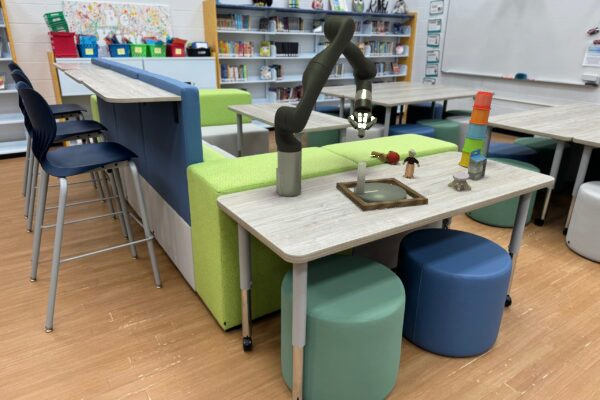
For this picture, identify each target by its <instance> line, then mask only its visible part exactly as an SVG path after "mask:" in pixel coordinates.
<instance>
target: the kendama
mask: <svg viewBox="0 0 600 400" xmlns="http://www.w3.org/2000/svg"><path fill="white" fill-rule="evenodd" d="M387 152H388V153H385V152H378V151H374V150H372V151H371V153H370V155H375V156H379V157H378V159H379V161H380V162H381V163H382V164H383V163H387V162H388V163H389V164H391V165H396V164H398V163H399V162H400V159H401V158H400V157H401V156H400V154H399V153H398V152H396V151H394V150H389V151H387Z"/></svg>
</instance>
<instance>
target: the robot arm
mask: <svg viewBox="0 0 600 400" xmlns="http://www.w3.org/2000/svg"><path fill="white" fill-rule="evenodd" d="M322 29H323V35H324V37H325V39H326V40H327V41H328V42H330V43H329V44H328V46H327V47H325V48H323V49H322V50H321V51H319V52H318V53H317V54H315V55H314V56H313V57H312V58H311V59H310V61H309V62H308V64H307V65H306V67H305V69H304V71H303V73H302V77H301V86H302V94H301V97H300V100H299V102H298V103H297V105H296V106H289V105H288V106H287V105H282V106H279V107H278V108H277V109H276V111H275V113H274V119H273V120H274V123H273V124H274V141H275V144H276V148H277V167H276V168H275V170H276V171H275V180H276V181H275V185H276V188H275V189H276V193H277V194H278V195H279V196H280V197H282V196H283V197H295V196H296V197H297V196H299V195H301V194H302V171H303V170H302V169H303V167H302V164H303V162H302V160H303V159H302V157H303V156H302V155H303V154H302V153H303V148H302V147H303V145H302V141H300V140H299V139H298V138H296V136H295V135H294V134H300V133H301V132H302V131H303V130H304V129H305V128H306V126H307V125H308V122H309V120H310V117H311V116H312V115H311V114H312V112H313V109H314V108H315V104H316V103H317V100H319V99H318V98H319V96H320V94H321V92H322V90H323V88H324V87H325V85H326V84H327V82H328V80H329V78H330V76H331V74H332V72H333V70H334V69H335V66H336V65H337V62H338V61H339V59H340V57H341V55H343V56H344V58H345V59H346V61H347V62H348V64H349V65H350V66H351V68H352V69H353V71H352V74H353V78H354V83H355V96H354V103H353V107H354V108H353V113H352V115H351V116H350V115H348V116H347V122H348V123H349V124H350V126H351V127H352V128H353V129H354V130H357V137H358V138H359V139H363V138H365V136H366V131H369V130H370V129H372V127H373V126H375V124H376V123H377V122H378V121H377V120H378V118H377V117H374V115H373V113H372V107H373V84H372V82H371V81H370V80H373V79H375V78H376V77H377V75H378V69H377V66H376V65H375V62H373V61H372V60H370V59H368V57H366V55H365V54H364V52H363V51H362V50H361V48H360V47H359V46H357V44H355V43H353V42H352V39H353V37H354V34H355V31H356V22H355V20H354V19H353V18H352V17H350V16H340V15H333V16H332V15H331V16H328V17H327V18H326V19H325V20H324V23H323V27H322ZM367 123H368V124H367Z"/></svg>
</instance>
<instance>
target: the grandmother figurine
mask: <svg viewBox="0 0 600 400" xmlns="http://www.w3.org/2000/svg"><path fill="white" fill-rule="evenodd" d="M416 155H417V152H416V150H415V149H414V148H412V149H409V150H408V156H406V157H405V158H404V160H403V161H402V163H401V164H402V165H403V166H404V165H405V164H406V165H405V171H404V175H402V177H403V178H408V179H414V173H415V165H417V168H420V166H421V165H420V161H419V160H418V159H417V158H416V157H415V156H416Z"/></svg>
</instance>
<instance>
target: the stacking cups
mask: <svg viewBox="0 0 600 400" xmlns="http://www.w3.org/2000/svg"><path fill="white" fill-rule="evenodd" d="M493 95H494V94H493V92H491V91H481V90H480V91H479V90H478V91H477V92H476V94H475V98H474V103H473V105H472V109H471V110H472V111H471V114H470V116H471V117H470V118H469V120H468V126H467V132H466V134H465V135H464V136H465V140H464V145H463V148H461V151H462V152H461V157H460V161H459V162H458V165H459V166H461V167H463V168H468V167H469V159H470V153H471V151H474V150H478V149H481V151H480V154H481V155H482V156H483V154H484V144H485V140H486V139H487V137H486V134H487V128H488V125H489V118H490V112H491V110H492V107H491V106H492V101H493ZM476 153H477V152H475V153H474V154H476Z"/></svg>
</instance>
